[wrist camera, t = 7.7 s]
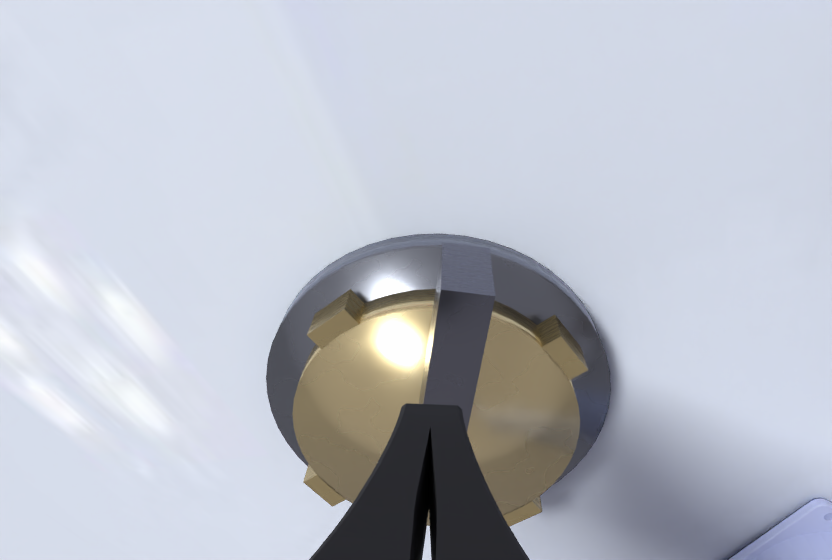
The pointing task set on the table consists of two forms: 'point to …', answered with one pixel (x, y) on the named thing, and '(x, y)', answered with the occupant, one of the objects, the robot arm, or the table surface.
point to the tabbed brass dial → (440, 383)
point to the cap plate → (417, 270)
